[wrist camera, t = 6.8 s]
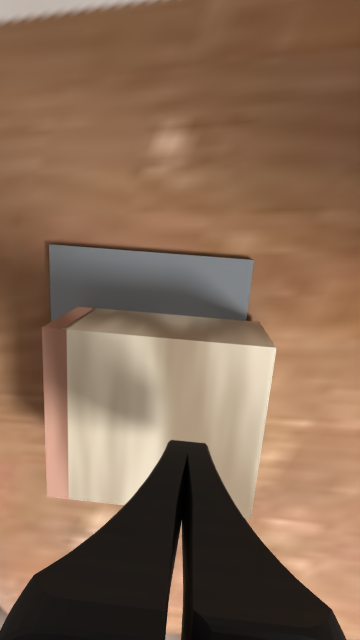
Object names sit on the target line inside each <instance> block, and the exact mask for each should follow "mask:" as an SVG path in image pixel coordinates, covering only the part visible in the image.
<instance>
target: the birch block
mask: <svg viewBox="0 0 360 640" xmlns="http://www.w3.org/2000/svg"><path fill="white" fill-rule="evenodd" d="M42 352H43V383H44V414H45V445H46V476H47V497H54V498H64V499H73V500H82V501H91V502H100V503H109V504H118V505H125V504H126V503H127V502H128V501H129V500H130V499H131V498H132V497H133V495H134V494H135V493H136V492H137V491H138V489H139V488H140V487H141V485H142V484H143V483H144V482H145V480H146V479H147V478H148V476H149V475H150V473H151V472H152V470H153V469H154V467H155V466H156V464H157V463H158V461H159V460H160V458H161V456H162V454H163V453H164V451H165V449H166V446H167V444H168V442H169V441H170V440H178V441H188V442H198V443H206V445H207V446H208V449H209V452H210V455H211V458H212V460H213V463H214V465H215V467H216V470H217V472H218V474H219V476H220V478H221V480H222V482H223V484H224V486H225V488H226V489H227V491H228V493H229V495H230V496H231V498H232V500H233V501H234V503H235V505H236V506H237V508H238V509H239V511H240V513H241V514H242V516H243V517H244V518H246V519H251V514H252V508H253V501H254V494H255V488H256V481H257V474H258V468H259V461H260V454H261V448H262V441H263V434H264V428H265V421H266V414H267V408H268V401H269V394H270V388H271V381H272V374H273V368H274V361H275V355H276V346H275V345H274V343H273V342H272V340H271V339H270V337H269V336H268V334H267V333H266V331H265V330H264V328H263V327H262V325H261V324H260V322H255V321H243V320H231V319H219V318H207V317H195V316H183V315H171V314H159V313H147V312H136V311H124V310H112V309H100V308H88V307H76V308H75V309H73V310H71V311H69V312H68V313H66V314H64V315H62V316H61V317H59V318H57V319H55V320H54V321H52V322H50V323H48V324H47V325H45V326H43V327H42Z"/></svg>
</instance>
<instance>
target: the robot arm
mask: <svg viewBox="0 0 360 640" xmlns="http://www.w3.org/2000/svg"><path fill="white" fill-rule="evenodd" d="M181 521H182V550H183V616H182V634H181V640H346V638H345V636H344V634H343V631H342V629H341V627H340V625H339V623H338V621H337V619H336V617H335V615H334V613H333V611H332V609H331V608H329V607H328V606H327V605H326V604H325V603H324V602H322V601H321V600H320V599H319V598H318V597H317V596H316V595H314V594H313V593H312V592H311V591H310V590H309V589H308V588H306V587H305V586H304V585H303V584H302V583H301V582H300V581H299V580H297V579H296V578H295V577H294V576H293V575H292V574H291V573H290V572H289V571H288V570H287V569H286V568H285V567H284V566H283V565H282V564H281V563H280V561H279V560H278V559H277V558H276V557H275V556H274V555H273V554H272V552H271V551H270V550H269V549H268V548H267V547H266V546H265V545H264V543H263V542H262V541H261V540H260V538H259V537H258V536H257V535H256V533H255V532H254V531H253V530H252V528H251V527H250V525H249V524H248V523H247V521H246V520H245V518H244V517H243V516H242V514H241V513H240V511H239V509H238V508H237V506H236V505H235V503H234V501H233V500H232V498H231V496H230V495H229V493H228V491H227V489H226V488H225V486H224V484H223V482H222V480H221V478H220V476H219V474H218V472H217V470H216V467H215V465H214V463H213V460H212V458H211V455H210V452H209V449H208V446H207V445H206V443H198V442H188V441H178V440H170V441H169V442H168V444H167V446H166V449H165V451H164V453H163V454H162V456H161V458H160V460H159V461H158V463H157V464H156V466H155V467H154V469H153V470H152V472H151V473H150V475H149V476H148V478H147V479H146V480H145V482H144V483H143V484H142V485H141V487H140V488H139V489H138V491H137V492H136V493H135V494H134V495H133V497H132V498H131V499H130V500H129V501H128V502H127V503H126V504H125V505H124V506H123V508H122V509H121V510H120V511H119V512H118V513H117V514H116V515H115V516H113V517H112V518H111V519H110V520H109V521H108V522H107V523H106V524H105V525H104V526H103V527H102V528H100V529H99V530H98V531H97V532H96V533H95V534H93V535H92V536H91V537H89V538H88V539H87V540H86V541H84V542H83V543H82V544H80V545H79V546H78V547H76V548H75V549H74V550H73V551H71V552H70V553H68V554H67V555H65V556H64V557H62V558H61V559H59V560H58V561H56V562H54V563H53V564H51V565H50V566H48V567H46V568H45V569H43V570H42V571H40V572H38V573H36V574H35V575H34V576H33V577H32V579H31V580H30V581H29V583H28V584H27V586H26V587H25V589H24V590H23V592H22V593H21V595H20V596H19V598H18V600H17V601H16V603H15V604H14V606H13V607H12V609H11V611H10V612H9V614H8V616H7V618H6V620H5V622H4V624H3V626H2V628H1V630H0V640H165V634H166V623H167V612H168V601H169V594H170V586H171V580H172V574H173V569H174V563H175V557H176V551H177V545H178V539H179V533H180V527H181Z"/></svg>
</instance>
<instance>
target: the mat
mask: <svg viewBox="0 0 360 640" xmlns="http://www.w3.org/2000/svg"><path fill="white" fill-rule="evenodd" d="M49 264H50V304H51V322H52V321H54V320H55V319H57V318H59V317H61V316H62V315H64V314H66V313H68V312H69V311H71V310H73V309H75V308H76V307H88V308H100V309H112V310H124V311H136V312H147V313H159V314H171V315H183V316H195V317H207V318H219V319H231V320H243V321H246V320H247V312H248V304H249V296H250V288H251V280H252V272H253V264H254V260H250V259H237V258H224V257H211V256H198V255H185V254H172V253H158V252H145V251H132V250H119V249H106V248H93V247H80V246H66V245H53V244H49Z"/></svg>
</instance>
